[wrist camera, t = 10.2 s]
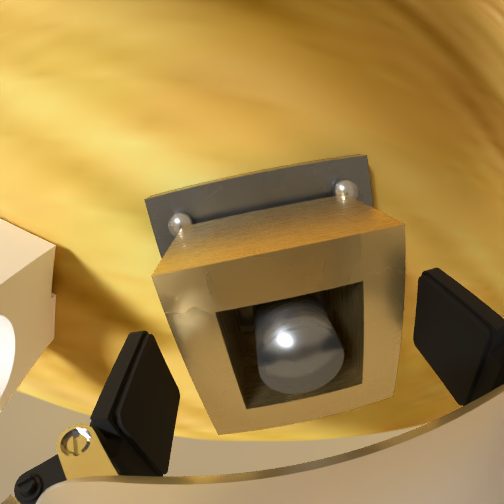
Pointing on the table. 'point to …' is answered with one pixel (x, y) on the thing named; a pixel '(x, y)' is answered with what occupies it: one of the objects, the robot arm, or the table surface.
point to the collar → (281, 287)
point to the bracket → (23, 304)
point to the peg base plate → (285, 310)
